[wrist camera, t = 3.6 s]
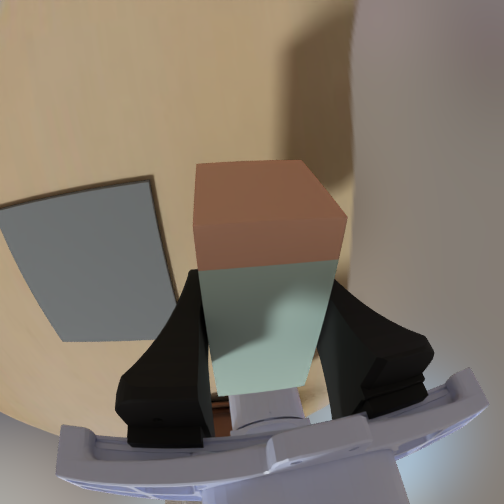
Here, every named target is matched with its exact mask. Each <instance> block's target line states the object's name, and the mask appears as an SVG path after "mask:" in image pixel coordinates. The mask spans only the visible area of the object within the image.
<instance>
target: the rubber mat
mask: <svg viewBox="0 0 504 504" xmlns="http://www.w3.org/2000/svg"><path fill="white" fill-rule="evenodd" d="M0 228H1V231H2V233H3V235H4V238H5V240H6V242H7V244H8V247H9V249H10V251H11V253H12V255H13V257H14V259H15V261H16V263H17V265H18V267H19V269H20V271H21V273H22V275H23V277H24V279H25V281H26V283H27V285H28V286H29V288H30V290H31V292H32V294H33V295H34V297H35V299H36V300H37V302H38V304H39V306H40V307H41V309H42V311H43V312H44V314H45V315H46V317H47V319H48V320H49V322H50V323H51V325H52V326H53V328H54V329H55V331H56V332H57V334H58V335H59V337H60V338H61V340H62V341H63V342H100V341H133V340H154V339H156V338H157V336H158V335H159V334H160V332H161V331H162V329H163V328H164V326H165V324H166V323H167V321H168V319H169V318H170V316H171V314H172V312H173V310H174V308H175V306H176V304H177V302H176V299H175V295H174V291H173V287H172V283H171V279H170V275H169V271H168V267H167V263H166V258H165V254H164V250H163V245H162V241H161V236H160V231H159V227H158V222H157V217H156V212H155V207H154V202H153V197H152V191H151V186H150V180H144V181H137V182H130V183H123V184H117V185H110V186H104V187H99V188H93V189H87V190H82V191H76V192H71V193H66V194H61V195H56V196H52V197H47V198H42V199H38V200H33V201H29V202H25V203H21V204H16V205H12V206H8V207H4V208H1V209H0Z"/></svg>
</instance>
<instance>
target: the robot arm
mask: <svg viewBox="0 0 504 504" xmlns="http://www.w3.org/2000/svg"><path fill="white" fill-rule="evenodd" d="M208 347H209V342H208V335H207V329H206V323H205V316H204V309H203V302H202V295H201V288H200V281H199V273H198V269H194V270H190V271H189V273H188V277H187V280H186V283H185V286H184V288H183V291H182V293H181V296H180V298H179V300H178V302H177V304H176V306H175V308H174V310H173V312H172V314H171V316H170V318H169V319H168V321H167V323H166V324H165V326H164V328H163V329H162V331H161V332H160V334H159V335H158V336H157V338H156V339H155V341H154V342H153V343H152V345H151V346H150V347H149V348H148V350H147V351H146V352H145V353H144V354H143V355H142V356H141V358H140V359H139V360H138V361H137V362H136V363H135V364H134V365H133V366H132V367H131V368H130V369H129V370H128V371H127V372H126V373H125V374H124V375H122V376H121V379H120V382H119V385H118V389H117V393H116V403H115V411H116V412H117V414H118V415H119V416H120V417H121V419H122V420H123V421H124V422H125V423H126V424H127V425H128V432H127V438H123V437H110V436H99V435H95V434H94V433H93V432H92V431H91V430H90V429H87V428H84V427H77V426H70V425H61V430H60V437H59V445H58V454H57V463H56V476H57V477H59V478H61V479H63V480H66V481H68V482H70V483H72V484H74V485H76V486H79V487H81V488H84V489H88V490H93V491H100V492H106V493H112V494H118V495H125V496H132V497H141V498H150V499H161V500H176V501H202V503H203V504H410V503H409V500H408V497H407V494H406V491H405V488H404V485H403V482H402V479H401V476H400V473H399V470H398V467H397V464H396V460H399V459H401V458H403V457H405V456H408V455H410V454H412V453H414V452H416V451H418V450H420V449H422V448H424V447H426V446H428V445H430V444H432V443H434V442H436V441H438V440H440V439H442V438H444V437H445V436H447V435H449V434H451V433H453V432H455V431H457V430H459V429H460V428H462V427H464V426H465V425H466V424H468V423H469V422H470V421H471V420H473V419H474V418H475V417H476V416H477V415H479V414H480V413H481V412H482V411H483V410H485V409H486V408H487V407H488V406H489V402H488V400H487V398H486V396H485V394H484V392H483V390H482V389H481V387H480V385H479V383H478V381H477V380H476V377H475V375H474V374H473V372H472V370H471V369H470V368H469V367H468V368H466V369H464V370H462V371H459V372H457V373H455V374H453V375H452V376H451V377H450V378H449V379H448V380H447V381H446V383H445V384H443V385H440V386H438V387H436V388H433V389H430V390H428V391H427V390H426V388H425V386H424V384H423V382H424V380H425V378H424V376H423V374H422V373H423V371H424V370H425V369H426V368H427V366H428V365H429V364H430V362H431V361H432V359H433V356H434V351H433V349H432V347H431V345H430V343H429V342H428V340H427V338H426V337H425V336H424V335H421V334H418V333H416V332H413V331H410V330H408V329H406V328H404V327H402V326H400V325H398V324H396V323H394V322H392V321H390V320H388V319H386V318H385V317H383V316H381V315H380V314H378V313H376V312H375V311H373V310H372V309H370V308H369V307H368V306H366V305H365V304H363V303H362V302H361V301H359V300H358V299H357V298H356V297H354V296H353V295H352V294H351V293H350V292H348V291H347V290H346V289H345V288H344V287H343V286H342V285H341V284H340V283H338V282H337V281H336V280H335V279H334V282H333V286H332V290H331V294H330V298H329V302H328V306H327V310H326V313H325V317H324V321H323V324H322V328H321V332H320V335H319V339H318V342H317V346H316V347H317V350H318V353H319V356H320V360H321V364H322V368H323V372H324V377H325V381H326V386H327V391H328V396H329V402H330V407H331V414H332V420H330V421H325V422H321V423H316V424H310V420H309V418H305V416H304V412H303V408H302V404H301V400H300V397H299V393H298V389H297V387H293V388H286V389H280V390H273V391H265V392H257V393H248V394H239V395H228V396H229V405H230V413H231V421H232V429H233V431H230V435H231V436H227V437H215V429H214V421H213V412H212V403H211V393H210V382H209V370H208Z"/></svg>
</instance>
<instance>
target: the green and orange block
mask: <svg viewBox="0 0 504 504" xmlns="http://www.w3.org/2000/svg"><path fill="white" fill-rule="evenodd" d="M347 218H348V217H347V216H346V214H345V213H344V212H343V210H342V209H341V208H340V206H339V205H338V204H337V203H336V201H335V200H334V199H333V198H332V196H331V195H330V194H329V193H328V191H327V190H326V189H325V188H324V186H323V185H322V184H321V183H320V181H319V180H318V179H317V178H316V177H315V175H314V174H313V173H312V172H311V171H310V169H309V168H308V167H307V166H306V165H305V163H304V162H303V161H302V160H263V161H236V162H218V163H202V164H196V178H195V194H194V212H193V232H194V241H195V249H196V258H197V266H198V273H199V281H200V288H201V295H202V302H203V309H204V316H205V323H206V329H207V335H208V342H209V348H210V354H211V360H212V365H213V371H214V377H215V382H216V388H217V393H218V396H228V395H239V394H248V393H257V392H265V391H273V390H280V389H286V388H293V387H299V386H304V385H305V382H306V379H307V375H308V372H309V369H310V366H311V363H312V359H313V356H314V353H315V349H316V346H317V342H318V339H319V335H320V332H321V328H322V324H323V321H324V317H325V313H326V310H327V306H328V302H329V298H330V294H331V290H332V286H333V282H334V278H335V273H336V269H337V265H338V260H339V256H340V251H341V247H342V242H343V237H344V233H345V228H346V223H347Z"/></svg>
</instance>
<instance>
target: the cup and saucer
mask: <svg viewBox="0 0 504 504" xmlns="http://www.w3.org/2000/svg"><path fill="white" fill-rule="evenodd" d="M212 412H213V421H214V429H215V437H227V436H231V435H230V431H233V429H232V421H231V413H230V405H229V401H220V402H212Z"/></svg>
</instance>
